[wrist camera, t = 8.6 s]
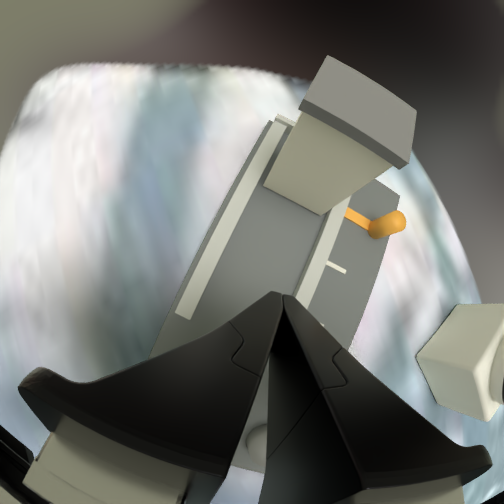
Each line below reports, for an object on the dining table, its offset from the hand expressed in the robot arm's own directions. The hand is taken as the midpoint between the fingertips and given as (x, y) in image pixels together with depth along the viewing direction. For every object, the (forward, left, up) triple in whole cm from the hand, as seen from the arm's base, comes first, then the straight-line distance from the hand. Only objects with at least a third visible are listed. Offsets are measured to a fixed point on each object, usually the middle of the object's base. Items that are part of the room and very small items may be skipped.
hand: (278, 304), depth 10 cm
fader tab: (+9, 0, -9) cm, 12 cm away
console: (0, -2, -9) cm, 9 cm away
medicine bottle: (+2, -20, -9) cm, 22 cm away
